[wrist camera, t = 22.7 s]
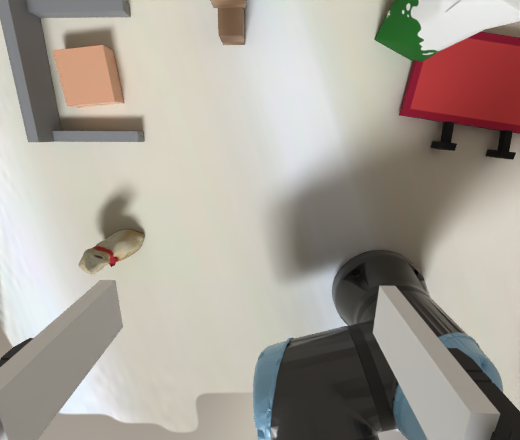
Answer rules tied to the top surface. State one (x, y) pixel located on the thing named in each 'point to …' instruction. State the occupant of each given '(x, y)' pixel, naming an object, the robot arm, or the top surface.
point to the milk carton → (440, 23)
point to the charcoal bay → (37, 66)
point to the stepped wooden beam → (231, 21)
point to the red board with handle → (469, 89)
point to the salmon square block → (88, 76)
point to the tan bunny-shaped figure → (111, 250)
